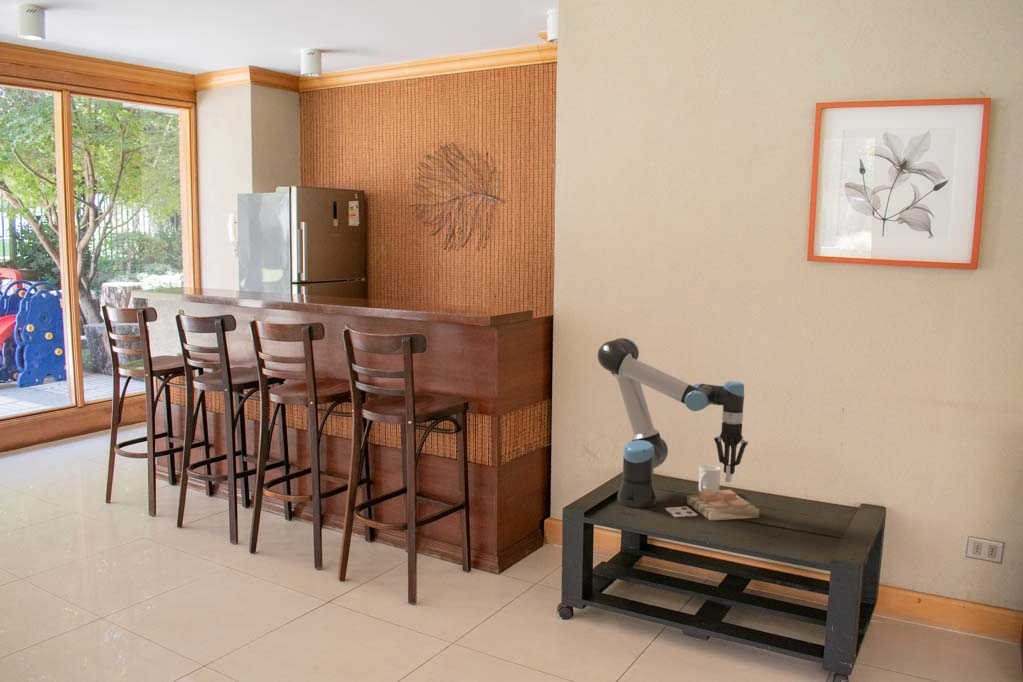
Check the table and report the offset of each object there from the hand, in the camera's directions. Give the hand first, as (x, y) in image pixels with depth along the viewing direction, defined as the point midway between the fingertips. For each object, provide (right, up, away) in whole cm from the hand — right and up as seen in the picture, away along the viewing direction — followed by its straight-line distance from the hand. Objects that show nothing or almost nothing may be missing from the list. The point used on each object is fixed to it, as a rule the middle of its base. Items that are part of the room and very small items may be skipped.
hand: (728, 481), depth 320 cm
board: (-3, -11, -3) cm, 11 cm away
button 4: (+2, -11, -6) cm, 12 cm away
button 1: (-8, -8, 0) cm, 11 cm away
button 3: (0, -8, +2) cm, 8 cm away
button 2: (-6, -11, -8) cm, 15 cm away
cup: (-4, -8, +19) cm, 21 cm away
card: (-20, -11, -7) cm, 23 cm away
